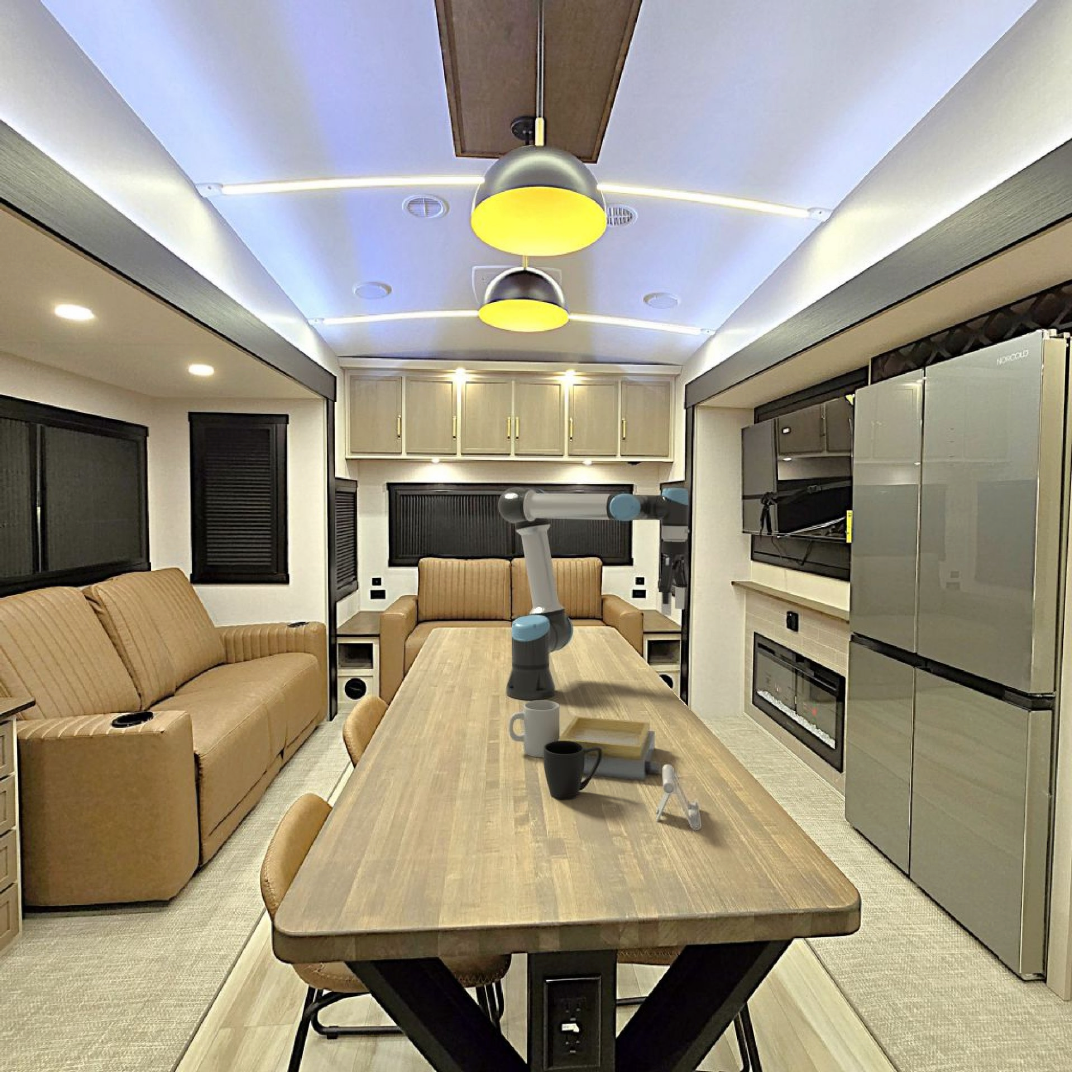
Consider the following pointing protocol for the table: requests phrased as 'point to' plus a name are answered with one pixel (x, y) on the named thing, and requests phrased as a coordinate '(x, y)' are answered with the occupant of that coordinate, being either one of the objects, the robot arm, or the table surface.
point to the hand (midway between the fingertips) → (673, 611)
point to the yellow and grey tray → (615, 746)
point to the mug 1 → (537, 726)
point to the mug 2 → (567, 768)
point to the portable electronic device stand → (671, 788)
